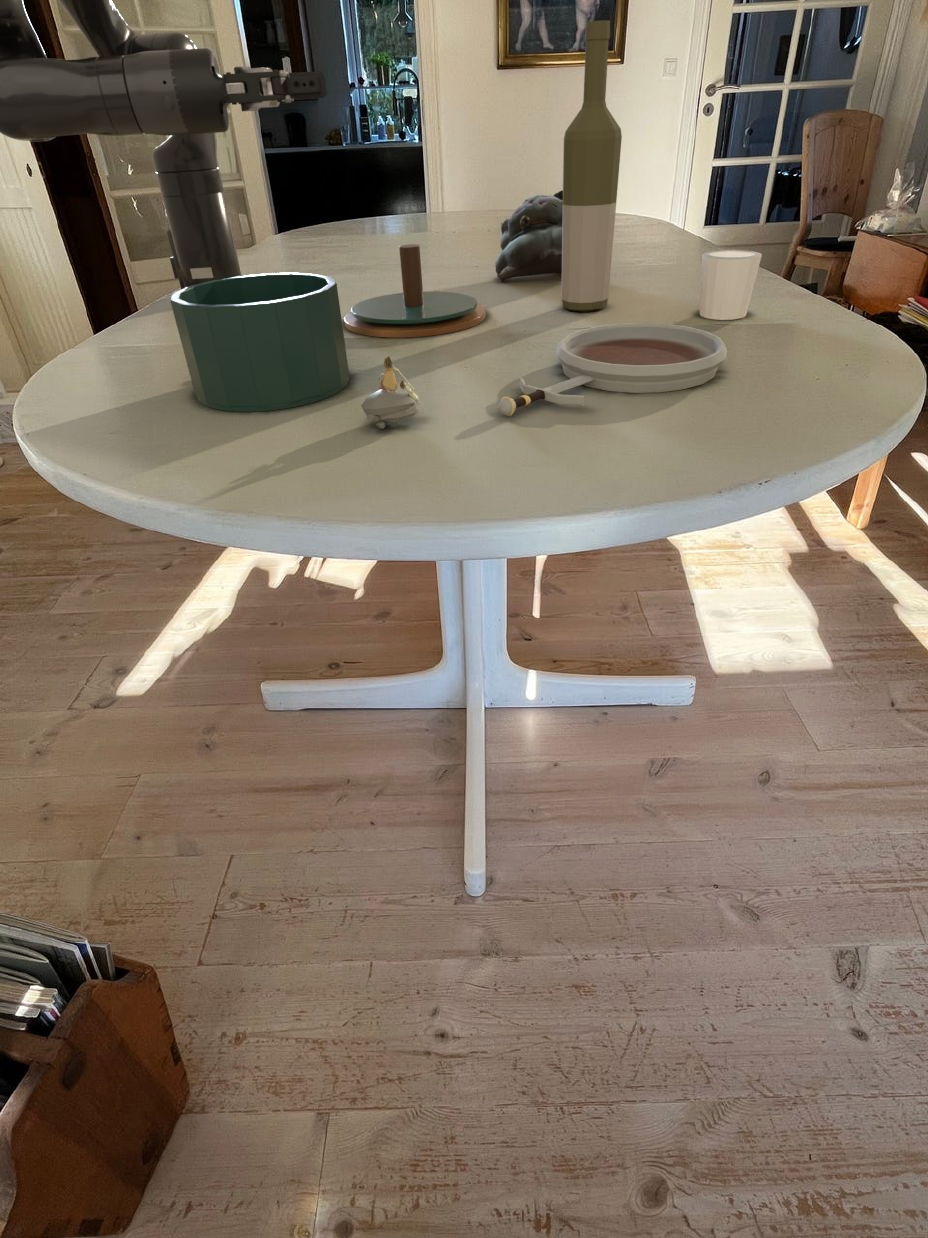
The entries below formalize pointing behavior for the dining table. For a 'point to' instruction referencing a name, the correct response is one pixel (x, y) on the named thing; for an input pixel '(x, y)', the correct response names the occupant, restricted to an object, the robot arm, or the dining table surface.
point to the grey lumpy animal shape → (532, 238)
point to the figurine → (390, 400)
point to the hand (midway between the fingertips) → (325, 84)
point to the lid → (413, 299)
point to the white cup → (727, 283)
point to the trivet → (415, 326)
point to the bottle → (590, 184)
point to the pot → (262, 340)
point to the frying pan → (629, 362)
